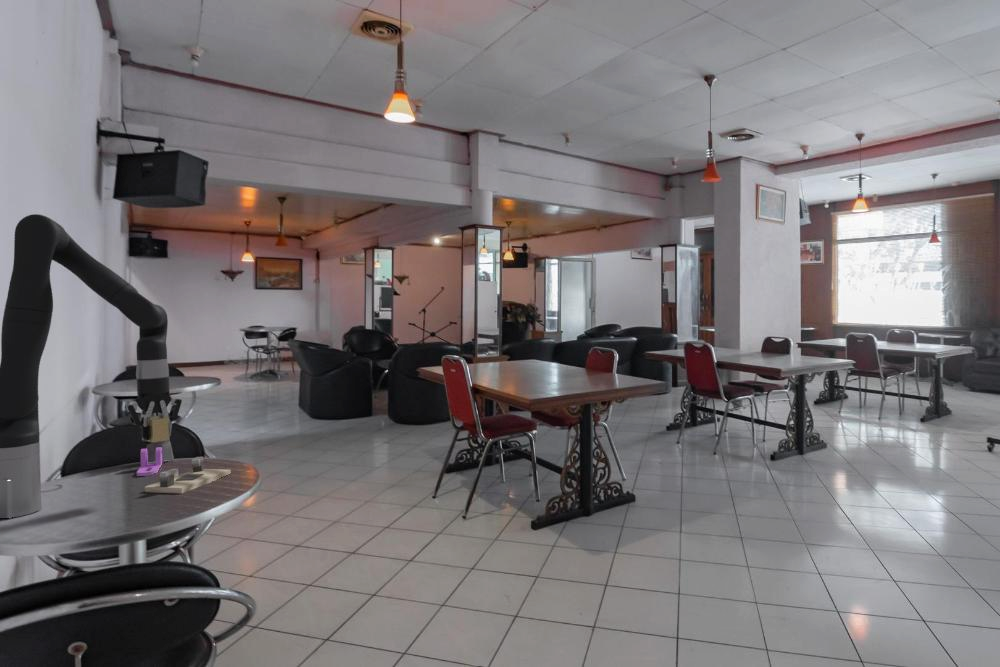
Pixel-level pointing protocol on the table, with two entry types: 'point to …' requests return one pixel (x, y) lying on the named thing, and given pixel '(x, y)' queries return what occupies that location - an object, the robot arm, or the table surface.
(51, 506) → the table surface
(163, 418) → the tan rectangular block
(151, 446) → the coffeepot
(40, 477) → the robot arm
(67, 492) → the table surface
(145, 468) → the bracket
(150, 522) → the table surface
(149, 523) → the table surface
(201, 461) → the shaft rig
